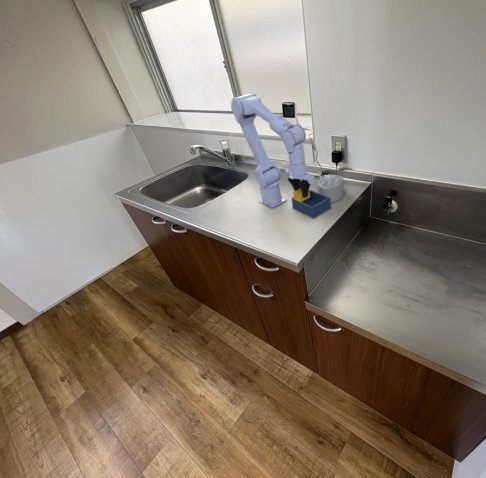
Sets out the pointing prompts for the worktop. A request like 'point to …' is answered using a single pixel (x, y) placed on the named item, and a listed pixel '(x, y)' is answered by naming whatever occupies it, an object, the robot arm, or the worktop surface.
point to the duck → (300, 195)
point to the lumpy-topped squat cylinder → (331, 187)
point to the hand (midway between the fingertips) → (301, 195)
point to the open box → (312, 204)
